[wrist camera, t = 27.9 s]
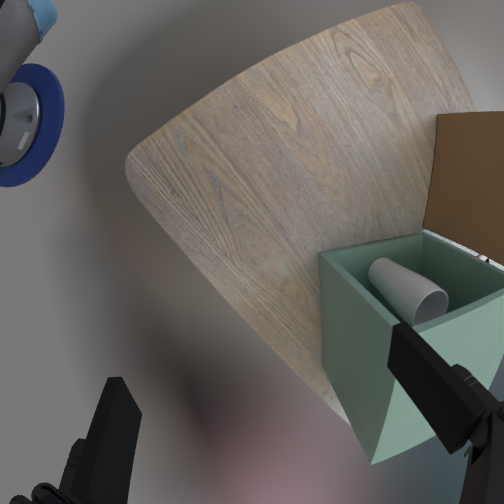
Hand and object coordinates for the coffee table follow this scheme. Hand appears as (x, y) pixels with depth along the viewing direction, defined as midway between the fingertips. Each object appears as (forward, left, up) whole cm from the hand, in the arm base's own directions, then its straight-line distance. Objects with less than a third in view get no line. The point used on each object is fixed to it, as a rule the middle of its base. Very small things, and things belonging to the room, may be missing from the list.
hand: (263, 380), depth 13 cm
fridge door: (+17, +36, -32) cm, 51 cm away
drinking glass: (+22, +15, -31) cm, 40 cm away
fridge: (+28, +11, -32) cm, 44 cm away
